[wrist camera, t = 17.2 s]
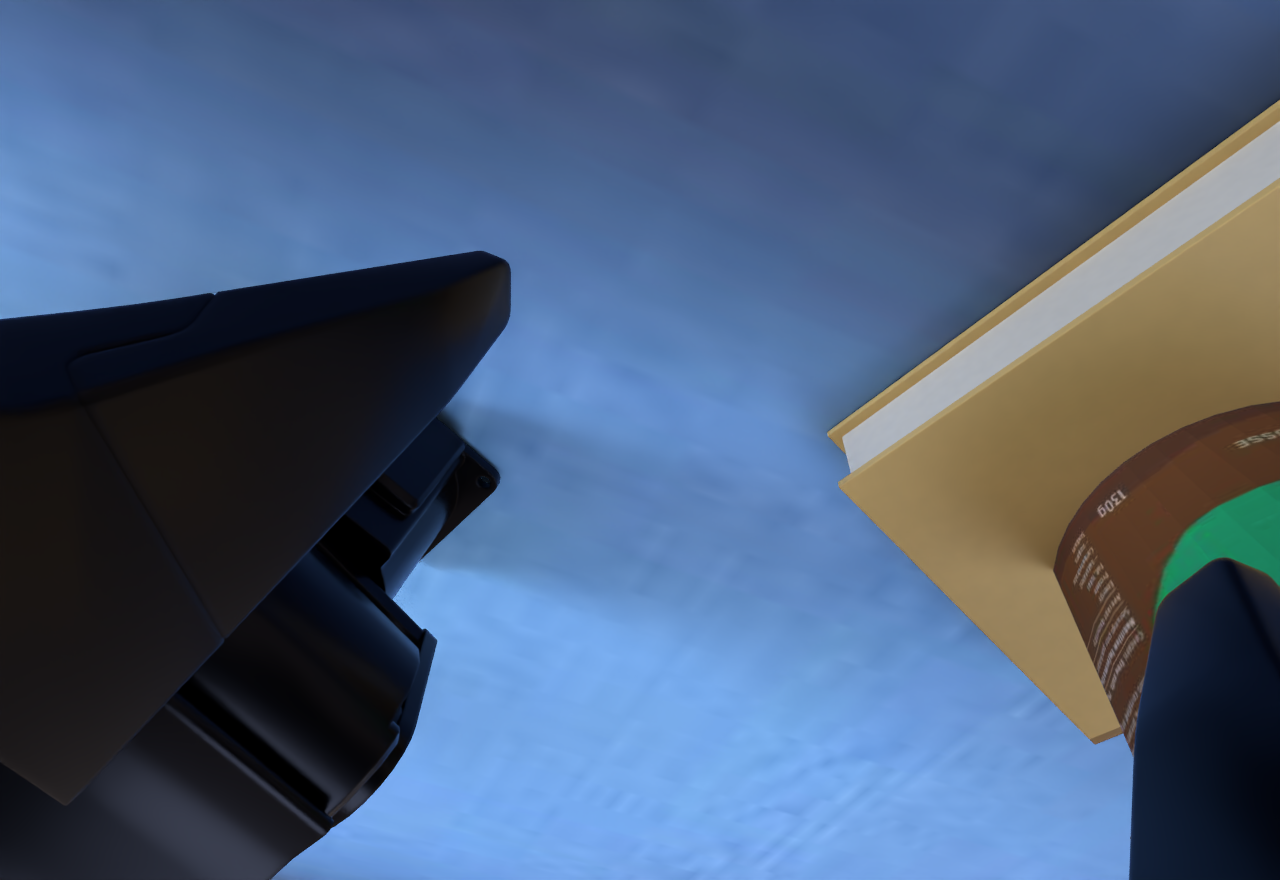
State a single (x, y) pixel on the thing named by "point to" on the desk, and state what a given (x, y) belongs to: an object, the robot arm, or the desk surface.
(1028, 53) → the desk surface
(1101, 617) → the food container
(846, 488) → the book
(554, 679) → the desk surface
